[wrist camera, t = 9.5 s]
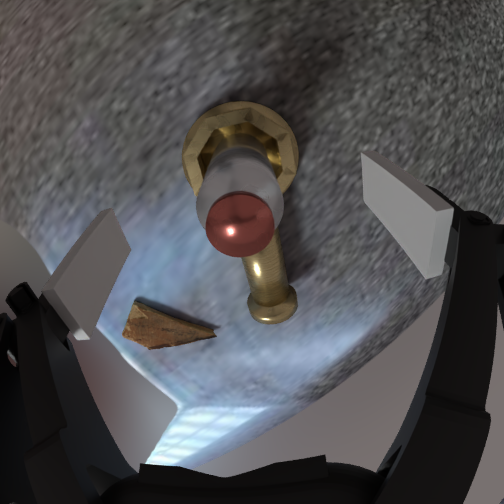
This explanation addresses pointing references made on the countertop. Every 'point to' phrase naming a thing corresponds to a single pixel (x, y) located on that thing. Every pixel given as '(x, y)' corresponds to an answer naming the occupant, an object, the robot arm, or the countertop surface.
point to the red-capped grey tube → (240, 197)
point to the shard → (161, 329)
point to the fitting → (285, 166)
